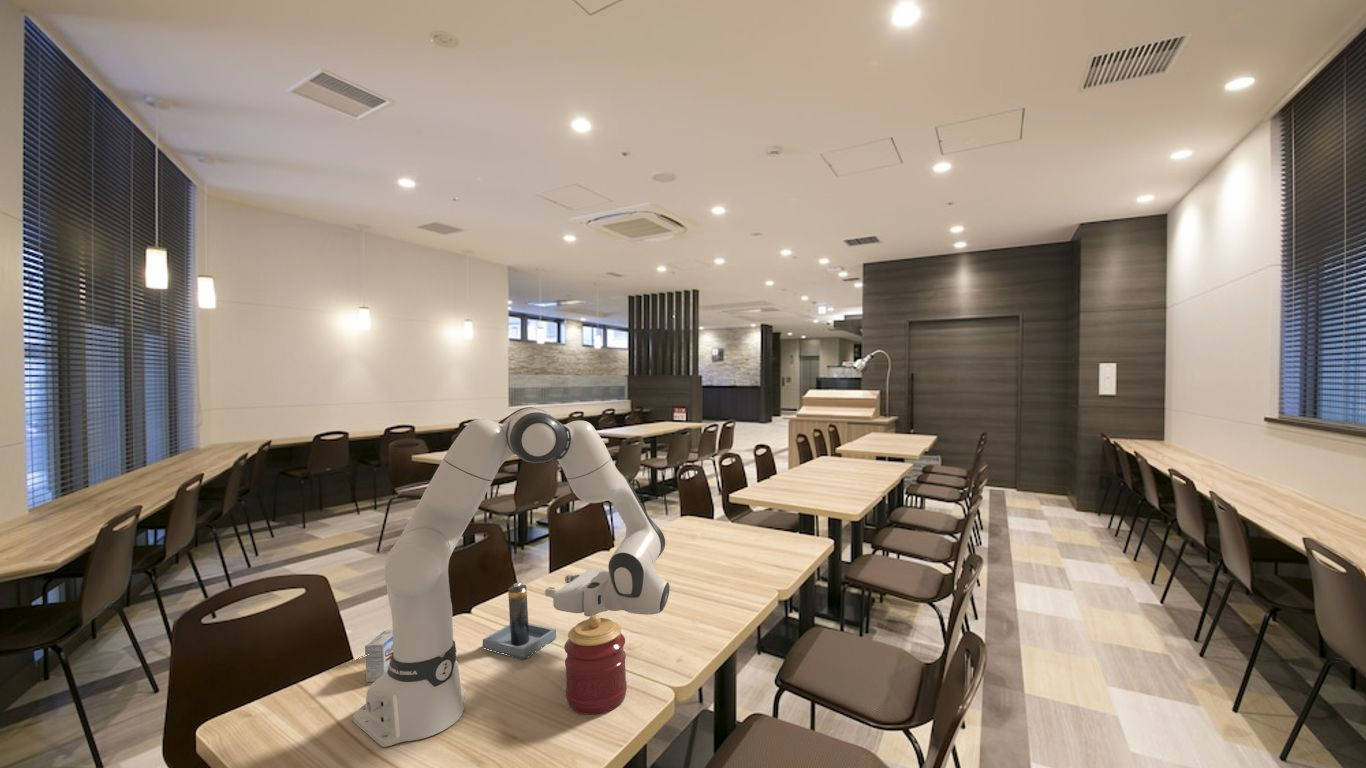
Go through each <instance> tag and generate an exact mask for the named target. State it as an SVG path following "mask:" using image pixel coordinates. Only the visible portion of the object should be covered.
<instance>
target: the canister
mask: <svg viewBox="0 0 1366 768" xmlns="http://www.w3.org/2000/svg"><path fill="white" fill-rule="evenodd" d="M621 628H622V627H621V626H620V624H619V623H617V622H614V621H613V620H611V619H609V618H604V617H600V616H599V615H597V614H596V615H592V616H590V617H589V618H588V619H585V620H582V621H580V622H578V623H577V624H576V625H575V626H573V627H572V628H571V629H570V630H569V632H568V634H567V637H568V639H567V640H566V642H565V643H564V645H563V646H564V647H563V649H564V651H565V653H566V657H565V660H564V666H565V678H566V679H565V683H566V684H565V685H566V688H565V699H566V701H567V705H568V707H569V708H570V709H571V710H572V711H574V712H576V713H579V714H583V715H598V714H599V715H600V714H603V713H607V712H610V711H612V710H613V709H616V708H617V707H619V706H620V705H621V704H622V703H623V701H625V698H626V696H627V695H626V694H627V691H628V690H627V689H628V686H627V685H628V683H627V679H626V656H627V654H626V652H625V650H624V646H625V645H626V637H625V636H624V634H623V633H622V629H621Z"/></svg>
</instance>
